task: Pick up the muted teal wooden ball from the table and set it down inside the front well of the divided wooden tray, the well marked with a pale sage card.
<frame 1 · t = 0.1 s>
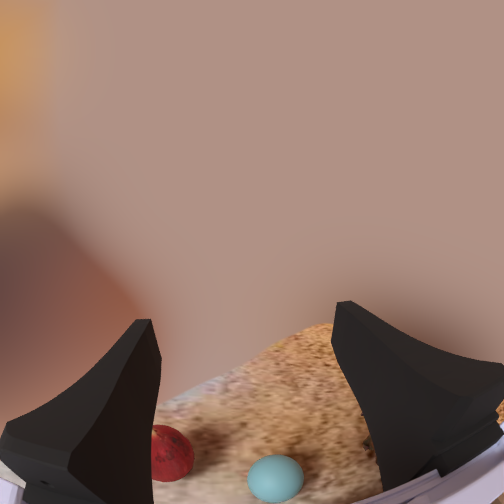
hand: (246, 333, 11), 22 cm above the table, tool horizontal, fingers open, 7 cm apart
ball: (275, 479, 20), point 2 cm above the table
onion: (172, 471, 23), on the table
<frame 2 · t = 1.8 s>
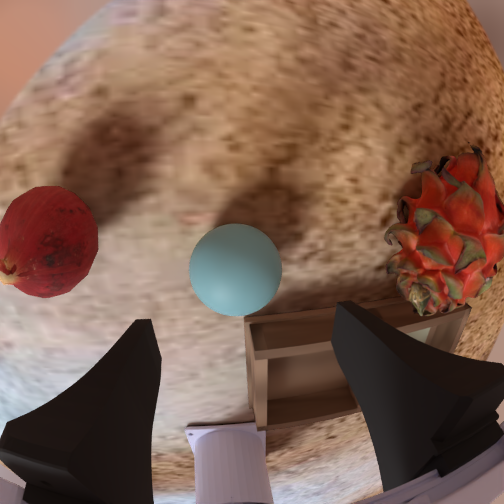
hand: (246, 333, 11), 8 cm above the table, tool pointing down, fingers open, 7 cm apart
divided wooden tray: (356, 350, 23), on the table
ball: (235, 269, 16), point 2 cm above the table
dragon fruit: (418, 212, 19), on the table
onion: (75, 218, 16), on the table
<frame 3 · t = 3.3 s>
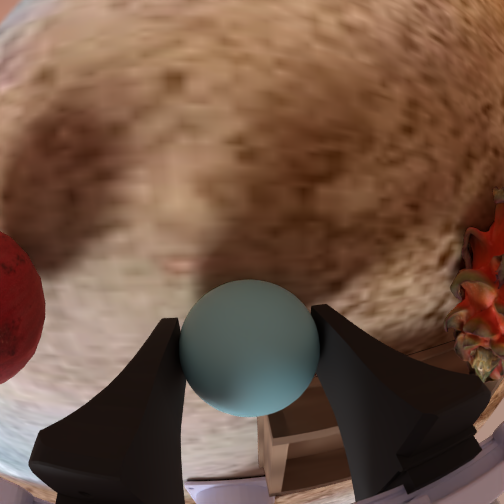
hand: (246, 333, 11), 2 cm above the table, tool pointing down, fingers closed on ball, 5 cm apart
divided wooden tray: (388, 403, 18), on the table
ball: (249, 348, 10), point 2 cm above the table, touching gripper
dragon fruit: (477, 244, 13), on the table
onion: (23, 260, 10), on the table
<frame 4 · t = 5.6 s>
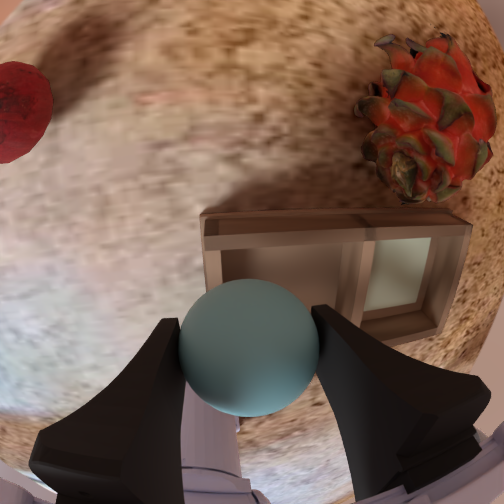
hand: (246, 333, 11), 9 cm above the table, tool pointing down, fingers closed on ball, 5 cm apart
divided wooden tray: (340, 275, 21), on the table
ball: (248, 348, 10), point 9 cm above the table, touching gripper
dragon fruit: (395, 110, 17), on the table
onion: (39, 112, 14), on the table
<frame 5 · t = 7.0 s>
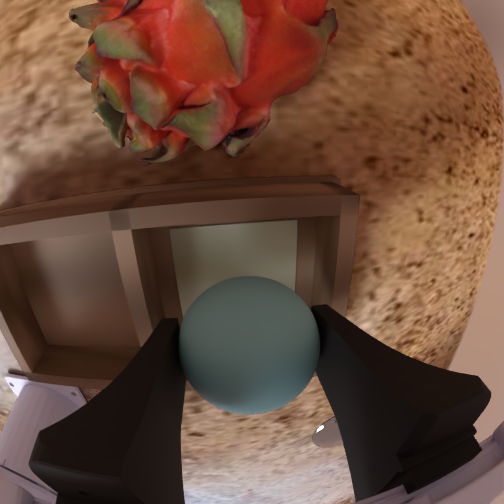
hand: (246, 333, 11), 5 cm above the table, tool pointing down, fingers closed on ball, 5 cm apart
wine glass: (346, 427, 24), on the table
divided wooden tray: (153, 281, 15), on the table
ball: (249, 345, 10), point 6 cm above the table, touching gripper
dragon fruit: (209, 39, 11), on the table
when the fingers open (4 cm above the table, at t = 8.1 s): ball drops 2 cm, resting on divided wooden tray.
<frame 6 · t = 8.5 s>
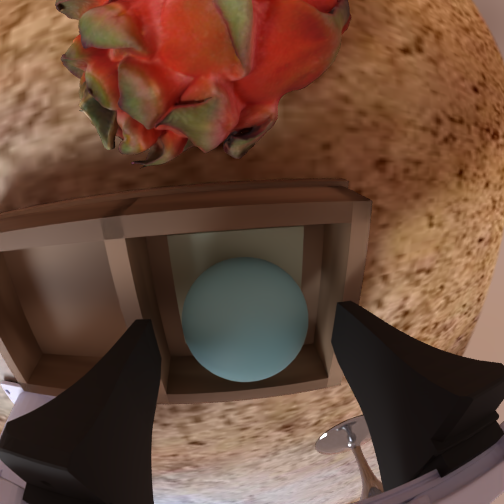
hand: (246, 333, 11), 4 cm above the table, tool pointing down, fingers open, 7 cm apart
wine glass: (350, 434, 23), on the table
divided wooden tray: (150, 289, 14), on the table
ball: (245, 319, 12), point 3 cm above the table, touching divided wooden tray
dragon fruit: (210, 32, 10), on the table
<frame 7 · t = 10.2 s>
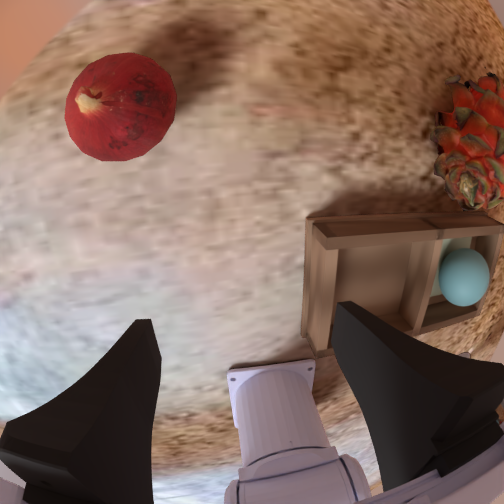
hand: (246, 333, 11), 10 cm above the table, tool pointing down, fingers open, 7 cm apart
divided wooden tray: (406, 268, 23), on the table
ball: (464, 277, 20), point 3 cm above the table, touching divided wooden tray
dragon fruit: (450, 132, 19), on the table
onion: (138, 110, 16), on the table
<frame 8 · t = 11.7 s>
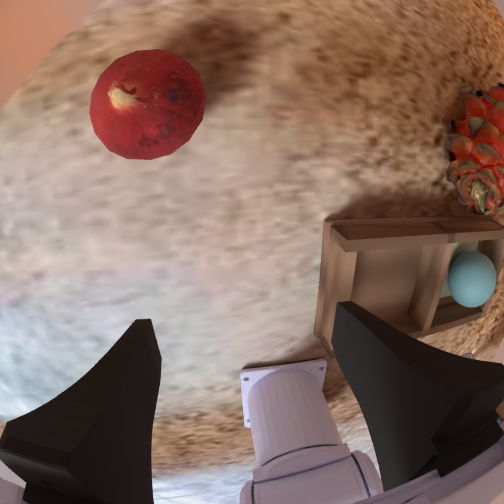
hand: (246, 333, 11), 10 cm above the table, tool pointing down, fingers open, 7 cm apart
divided wooden tray: (416, 270, 23), on the table
ball: (472, 279, 21), point 3 cm above the table, tilted 7°, touching divided wooden tray
dragon fruit: (460, 139, 19), on the table
onion: (160, 109, 16), on the table
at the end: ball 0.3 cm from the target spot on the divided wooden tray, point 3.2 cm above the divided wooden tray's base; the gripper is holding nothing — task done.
